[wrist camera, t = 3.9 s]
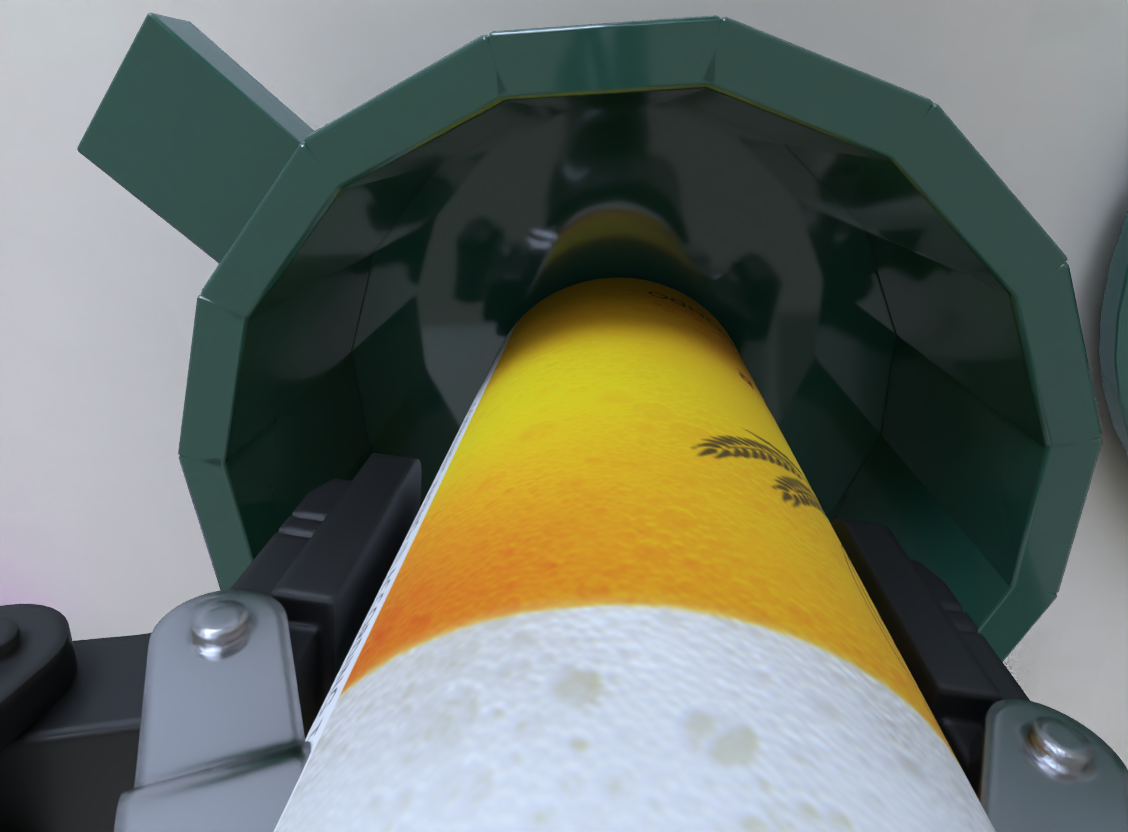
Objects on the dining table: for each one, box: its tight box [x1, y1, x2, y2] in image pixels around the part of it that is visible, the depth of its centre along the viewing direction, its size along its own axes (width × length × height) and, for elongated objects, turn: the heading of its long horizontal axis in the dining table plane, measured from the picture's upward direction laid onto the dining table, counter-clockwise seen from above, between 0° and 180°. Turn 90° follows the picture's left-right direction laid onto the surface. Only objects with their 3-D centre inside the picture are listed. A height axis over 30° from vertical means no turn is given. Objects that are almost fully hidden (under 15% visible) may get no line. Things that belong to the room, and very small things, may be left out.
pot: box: [77, 13, 1102, 662], centre depth 14 cm, size 15×20×6 cm
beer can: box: [274, 278, 996, 832], centre depth 10 cm, size 6×6×15 cm
